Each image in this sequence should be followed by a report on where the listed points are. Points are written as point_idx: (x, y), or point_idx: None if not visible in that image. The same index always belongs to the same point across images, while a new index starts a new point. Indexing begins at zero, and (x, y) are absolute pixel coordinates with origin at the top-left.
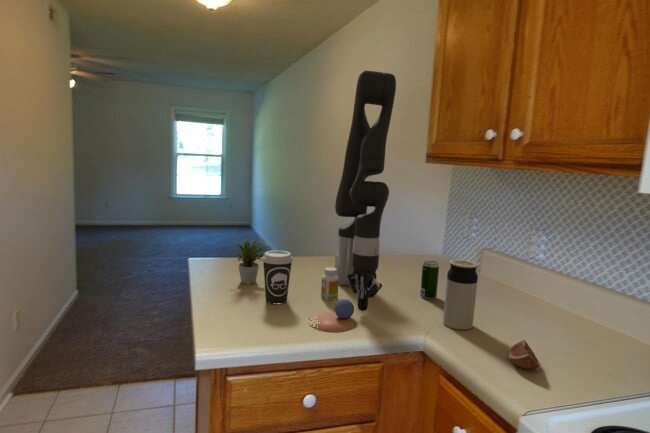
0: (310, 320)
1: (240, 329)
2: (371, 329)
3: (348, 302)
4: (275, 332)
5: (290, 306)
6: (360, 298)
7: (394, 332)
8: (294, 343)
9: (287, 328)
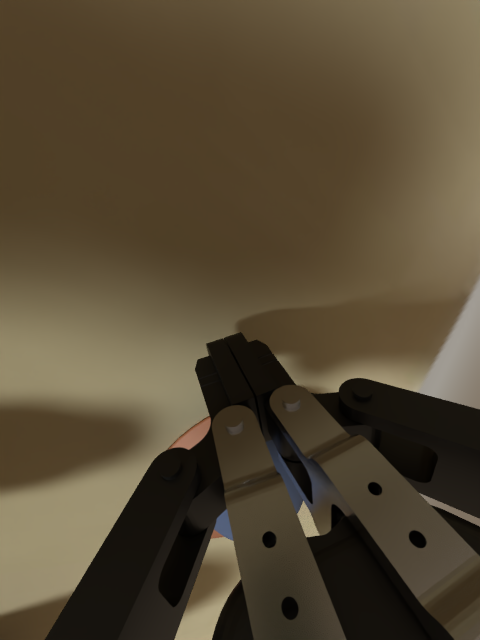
0: (216, 532)
1: (211, 633)
2: (377, 350)
3: (296, 506)
4: None
5: (22, 607)
6: (266, 440)
7: (452, 267)
8: None
9: None
